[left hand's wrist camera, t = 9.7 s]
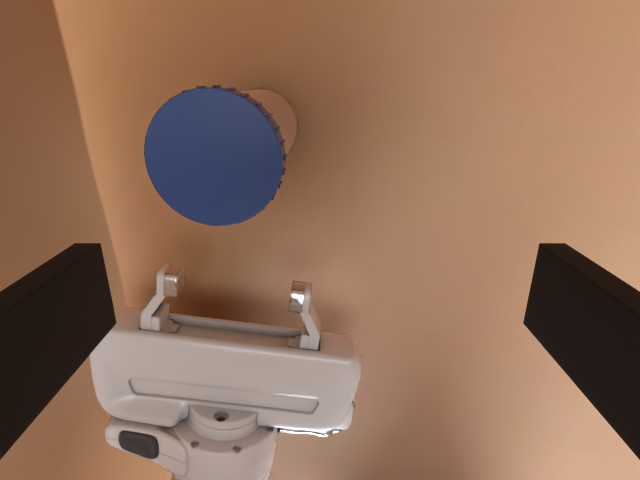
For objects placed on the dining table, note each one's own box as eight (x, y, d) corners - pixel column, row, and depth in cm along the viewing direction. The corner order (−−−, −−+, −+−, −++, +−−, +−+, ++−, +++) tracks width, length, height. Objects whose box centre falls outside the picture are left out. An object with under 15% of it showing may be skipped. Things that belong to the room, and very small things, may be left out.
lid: (131, 157, 19) (114, 164, 17) (211, 54, 17) (199, 51, 16) (232, 240, 20) (224, 253, 19) (313, 151, 19) (313, 158, 17)
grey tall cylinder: (215, 126, 32) (129, 161, 18) (259, 73, 31) (204, 64, 16) (266, 173, 34) (225, 240, 19) (311, 123, 32) (303, 156, 18)
